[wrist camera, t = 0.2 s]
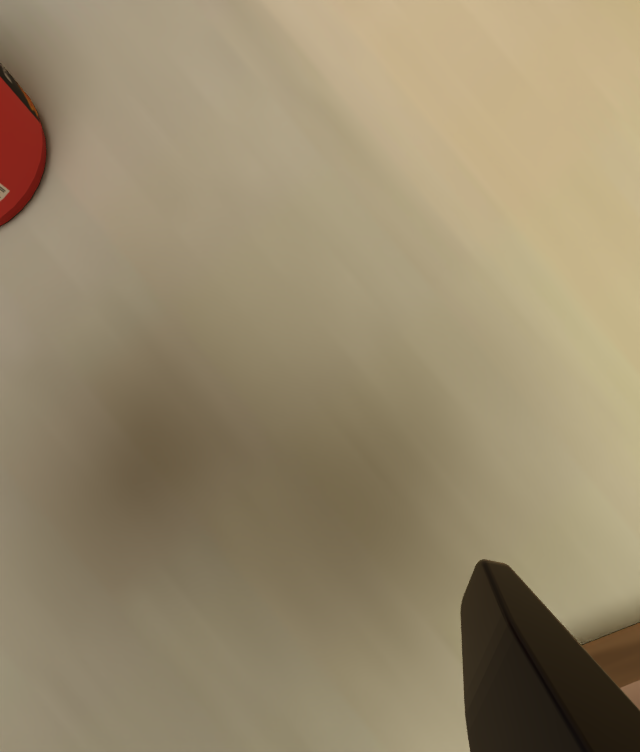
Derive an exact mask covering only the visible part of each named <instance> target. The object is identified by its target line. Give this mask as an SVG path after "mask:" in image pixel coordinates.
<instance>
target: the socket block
mask: <svg viewBox="0 0 640 752" xmlns="http://www.w3.org/2000/svg"><path fill="white" fill-rule="evenodd" d="M581 646H582V647H583V648H584V649H585V650H586V651H587V652H588V653H589V655H590V656H591V657H592V658H593V659H594V660H595V661H596V662H597V663H598V664H599V666H600V667H601V668H602V669H603V670H604V671H605V672H606V673H607V674H608V675H609V677H610V678H611V679H612V680H613V681H614V682H615V683H616V684H617V685H618V687H619V688H620V689H621V690H622V691H623V692H624V693H625V694H626V695H627V696H628V698H629V699H630V700H631V701H632V702H633V703H634V704H635V705H636V706H637V707H638V709H639V710H640V623H638V624H635V625H632V626H630V627H627V628H625V629H622V630H620V631H617V632H614V633H612V634H609V635H607V636H604V637H602V638H599V639H596V640H594V641H591V642H589V643H586V644H584V645H581Z"/></svg>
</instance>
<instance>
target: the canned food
mask: <svg viewBox="0 0 640 752" xmlns="http://www.w3.org/2000/svg"><path fill="white" fill-rule="evenodd" d="M45 160H46V141H45V136H44V132H43V129H42V125H41V122H40V119H39V116H38V113H37V111H36V109H35V107H34V105H33V103H32V102H31V100H30V98H29V97H28V96H27V94H26V93H25V92H24V91H23V89H22V88H21V87H20V86H19V85H18V83H17V82H16V81H15V80H14V79H13V77H12V76H11V75H10V74H9V73H8V71H7V70H6V69H5V68H4V67H3V65H2V64H1V63H0V226H1V225H3V224H4V223H6V222H8V221H9V220H10V219H11V218H13V217H14V216H15V215H16V214H17V213H19V212H20V211H21V210H22V209H23V207H24V206H25V205H26V204H27V203H28V201H29V200H30V199H31V198H32V196H33V194H34V192H35V191H36V189H37V187H38V185H39V183H40V180H41V177H42V174H43V171H44V168H45Z"/></svg>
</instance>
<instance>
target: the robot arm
mask: <svg viewBox="0 0 640 752" xmlns="http://www.w3.org/2000/svg"><path fill="white" fill-rule="evenodd" d="M461 634H462V658H463V681H464V703H465V717H466V725H467V733H468V740H469V747H470V752H640V710H639V709H638V707H637V706H636V705H635V704H634V703H633V702H632V701H631V700H630V699H629V698H628V696H627V695H626V694H625V693H624V692H623V691H622V690H621V689H620V688H619V687H618V685H617V684H616V683H615V682H614V681H613V680H612V679H611V678H610V677H609V675H608V674H607V673H606V672H605V671H604V670H603V669H602V668H601V667H600V666H599V664H598V663H597V662H596V661H595V660H594V659H593V658H592V657H591V656H590V655H589V653H588V652H587V651H586V650H585V649H584V648H583V647H582V646H581V645H580V643H579V642H578V641H577V640H576V639H575V638H574V637H573V636H572V635H571V634H570V632H569V631H568V630H567V629H566V628H565V627H564V626H563V625H562V624H561V623H560V621H559V620H558V619H557V618H556V617H555V616H554V615H553V614H552V613H551V611H550V610H549V609H548V608H547V607H546V606H545V605H544V604H543V603H542V602H541V600H540V599H539V598H538V597H537V596H536V595H535V594H534V593H533V592H532V591H531V589H530V588H529V587H528V586H527V585H526V584H525V583H524V582H523V581H522V580H521V578H520V577H519V576H518V575H517V574H516V573H515V572H514V571H513V570H512V568H510V567H509V566H508V565H507V564H504V563H500V562H495V561H491V560H486V559H483V560H480V561H479V562H478V563H477V564H476V566H475V569H474V571H473V574H472V576H471V579H470V581H469V584H468V586H467V589H466V591H465V593H464V596H463V599H462V604H461Z"/></svg>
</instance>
